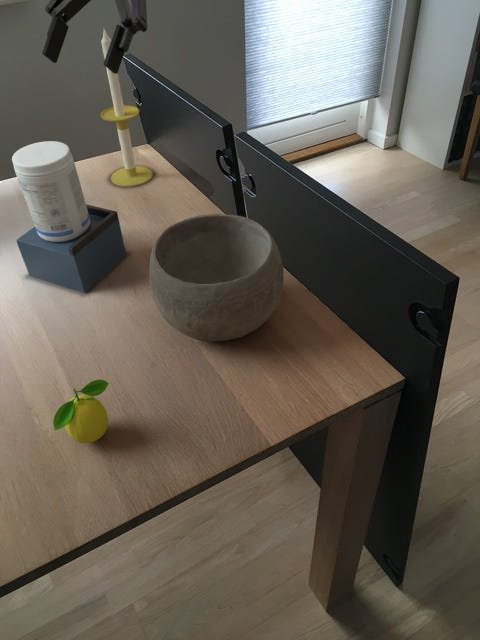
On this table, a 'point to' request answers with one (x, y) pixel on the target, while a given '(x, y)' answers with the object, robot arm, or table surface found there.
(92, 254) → the blue storage bin
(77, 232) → the supplement tub
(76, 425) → the lemon
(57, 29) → the robot arm
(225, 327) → the bowl
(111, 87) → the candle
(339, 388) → the table surface
